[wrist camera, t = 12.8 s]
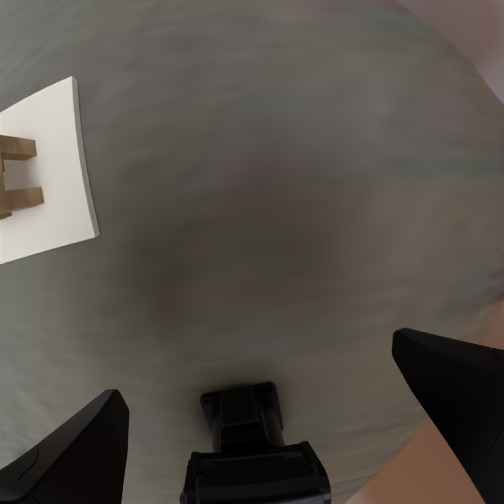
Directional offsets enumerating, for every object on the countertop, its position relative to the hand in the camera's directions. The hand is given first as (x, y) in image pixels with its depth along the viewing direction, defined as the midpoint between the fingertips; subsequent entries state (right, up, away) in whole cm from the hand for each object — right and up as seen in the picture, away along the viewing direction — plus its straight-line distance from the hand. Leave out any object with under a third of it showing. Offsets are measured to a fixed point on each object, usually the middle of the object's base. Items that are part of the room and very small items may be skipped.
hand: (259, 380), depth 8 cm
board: (-18, +10, +9) cm, 22 cm away
